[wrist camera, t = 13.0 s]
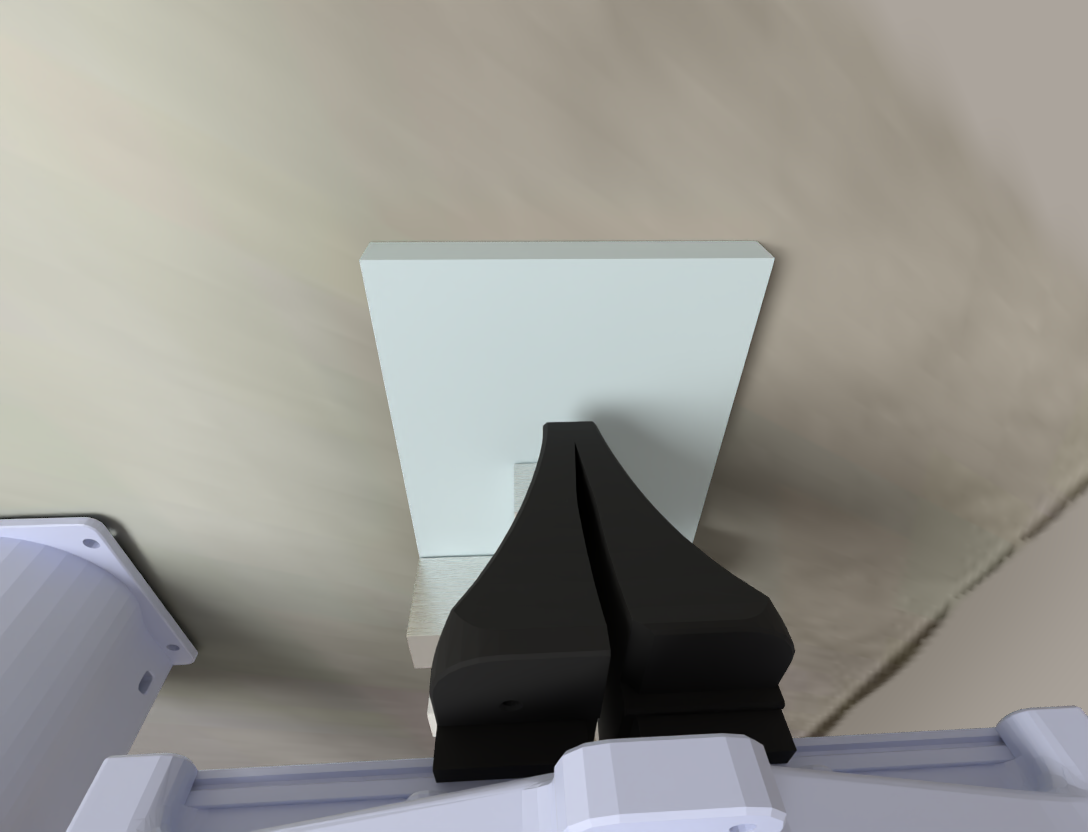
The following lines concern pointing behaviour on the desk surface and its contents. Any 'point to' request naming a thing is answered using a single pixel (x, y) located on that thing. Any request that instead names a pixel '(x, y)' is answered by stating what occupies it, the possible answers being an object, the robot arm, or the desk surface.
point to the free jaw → (448, 585)
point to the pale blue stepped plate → (557, 367)
